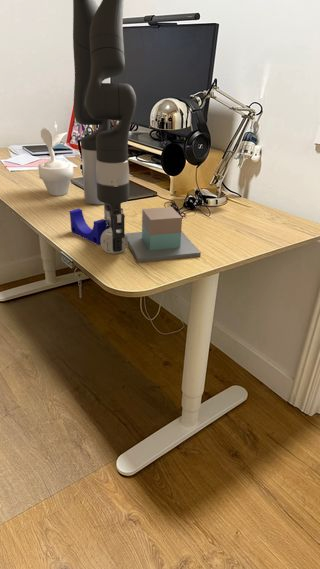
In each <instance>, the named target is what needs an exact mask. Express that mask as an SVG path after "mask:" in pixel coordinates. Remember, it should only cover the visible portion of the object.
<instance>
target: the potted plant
mask: <svg viewBox="0 0 320 569" xmlns="http://www.w3.org/2000/svg"><path fill="white" fill-rule="evenodd" d="M53 127H54V129H55V131H56V132H58V127H59V126H58V124H57V121H56V120H54V125H53ZM67 134H68V132H63V133H58V134H55V135H53V133H52V132H51V130H50V129H48V128H45V127H42V129H41V130H40V137H41V139H42V141H43V143H44V144H45V145H46V148H48V154H49V156H50V160H48V161H46V162H41V163H39V164H38V166H37V168H38V169H37V170H38V175H39V176H38V177H39V179H40V180H42V181H43V183H44V186H45V188H46V190H47V193H48V194H49V195H50V196H54V197H58V196H64V195H66V194H68V192H69V188H70V184H71V180H72V179H73V178H74V164H73V163H71V162H67V161H64V160H59V159H56V154H55V151H54V149H53V148H55V147H56V146H58V144H60V142H61V141H62V139H63V138H64V136H66V135H67Z"/></svg>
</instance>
